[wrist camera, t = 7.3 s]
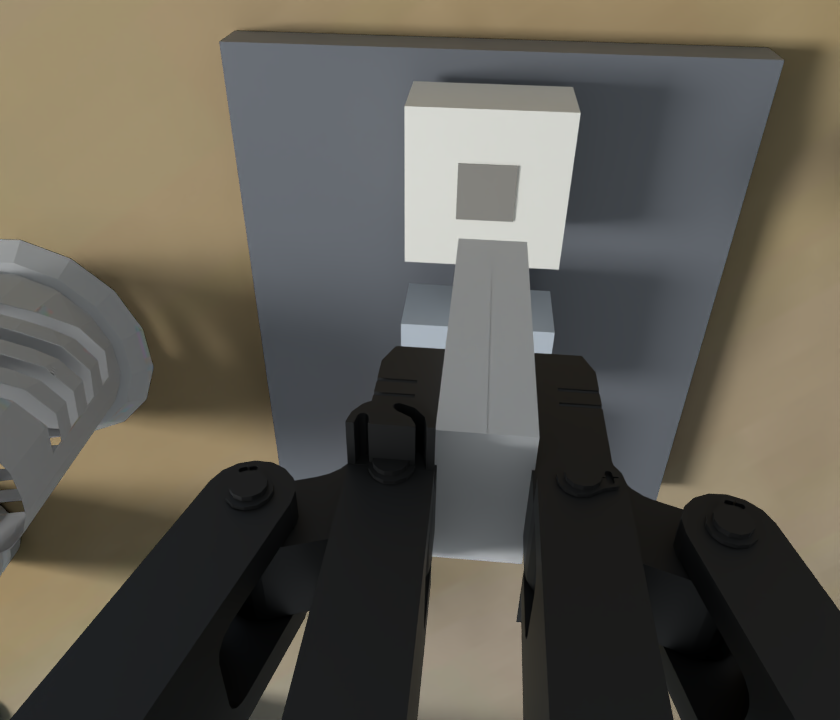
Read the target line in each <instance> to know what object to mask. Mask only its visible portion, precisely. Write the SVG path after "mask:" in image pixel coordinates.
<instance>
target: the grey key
mask: <svg viewBox="0 0 840 720" xmlns="http://www.w3.org/2000/svg"><path fill="white" fill-rule="evenodd" d="M452 289H453V286H446V285H428V284H410V283H409V287H408V292H407V297H406V301H405V306H404V311H403V316H402V321H401V346H406V347H422V348H437V349H445V347H446V338H447V330H448V322H449V314H450V306H451V297H452ZM530 294H531V310H532V326H533V342H534V353H544V354H552V348H553V342H554V335H555V330H554V321H553V313H552V304H551V295H550V291H538V290H530Z"/></svg>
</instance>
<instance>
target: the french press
mask: <svg viewBox="0 0 840 720" xmlns="http://www.w3.org/2000/svg"><path fill="white" fill-rule="evenodd" d="M152 372H153V364H152V360H151V357H150V353H149V349H148V346H147V342H146V339H145V335H144V332H143V329H142V328H141V326H140V325H139V323H138V322H137V321H136V319H135V318H134V317H133V315H132V314H131V313H130V311H129V310H128V309H127V307H126V306H125V305H124V303H123V302H122V301H121V299H120V298H119V297H118V295H117V294H116V293H115V291H114V290H112V289H111V288H110V287H108V286H107V285H106V284H104V283H103V282H102V281H100V280H99V279H98V278H96V277H95V276H93V275H92V274H91V273H89V272H88V271H87V270H85V269H84V268H83V267H81V266H80V265H79V264H77V263H76V262H75V261H73V260H72V259H70V258H67V257H65V256H62V255H59V254H57V253H54V252H51V251H49V250H46V249H43V248H40V247H38V246H35V245H32V244H30V243H27V242H24V241H22V240H3V239H0V464H1V465H2V466H3V467H4V468H5V469H0V481H4V480H13V481H14V483H15V485H16V487H17V489H10V490H0V503H1V502H11V501H21V500H22V502H23V506H24V510H25V512H16V513H5V514H0V553H2V552H4V551H6V550H9V549H11V548H12V547H13V546H14V544H15V543H16V542H17V541H18V540H19V538H20V537H21V536H22V535H23V533H24V532H25V530H26V529H27V527H28V526H29V525H30V523H31V522H32V520H33V519H34V517H35V516H36V514H37V513H38V512H39V510H40V509H41V507H42V506H43V504H44V503H45V501H46V500H47V499H48V497H49V496H50V494H51V493H52V491H53V490H54V488H55V487H56V486H57V484H58V483H59V481H60V480H61V478H62V477H63V475H64V474H65V473H66V471H67V470H68V468H69V467H70V465H71V464H72V462H73V461H74V460H75V458H76V457H77V455H78V454H79V452H80V451H81V449H82V448H83V447H84V445H85V444H86V442H87V441H88V439H89V438H90V436H91V435H92V434H93V432H94V431H95V430H98V429H102V428H105V427H108V426H111V425H114V424H118V423H121V422H124V421H125V420H126V419H127V418H128V417H129V416H130V415H131V414H132V413H133V412H134V411H135V410H136V409H137V408H138V407H139V406H140V405H141V404H142V403H143V402H144V401H145V400H146V399H147V395H148V390H149V386H150V381H151V377H152ZM52 437H61V442H60V443H59V445H53V446H51V442H50V438H52Z"/></svg>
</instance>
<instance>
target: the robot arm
mask: <svg viewBox="0 0 840 720" xmlns="http://www.w3.org/2000/svg"><path fill="white" fill-rule="evenodd" d="M345 427H346V445H347V462H348V464H346V465H345V466H343V467H342V468H340V469H338V470H336V471H334V472H332V473H329V474H326V475H322V476H318V477H312V478H306V479H300V480H294V478H293V477H292V476H291V475H290V473H289V472H288V471H287V470H286V469H285V468H283V467H281V466H279V465H276V464H274V463H272V462H263V461H250V462H244V463H238V464H236V465H234V466H231V467H229V468H227V469H224V470H222V471H221V472H220V473H219V474H218V475H216V476H215V477H214V478H213V479H212V480H210V482H209V483H208V484H207V485H206V486H205V488H204V489H203V490H202V491H201V492H200V493H199V495H198V496H197V497H196V498H195V499H194V501H193V502H192V503H191V504H190V505H189V507H188V508H187V509H186V510H185V511H184V513H183V514H182V515H181V516H180V517H179V519H178V520H177V521H176V522H175V523H174V524H173V526H172V527H171V528H170V529H169V530H168V532H167V533H166V534H165V535H164V536H163V538H162V539H161V540H160V541H159V542H158V544H157V545H156V546H155V547H154V548H153V550H152V551H151V552H150V553H149V554H148V556H147V557H146V558H145V559H144V560H143V561H142V563H141V564H140V565H139V566H138V567H137V569H136V570H135V571H134V572H133V573H132V575H131V576H130V577H129V578H128V579H127V581H126V582H125V583H124V584H123V585H122V587H121V588H120V589H119V590H118V591H117V592H116V594H115V595H114V596H113V597H112V598H111V600H110V601H109V602H108V603H107V604H106V606H105V607H104V608H103V609H102V610H101V612H100V613H99V614H98V615H97V616H96V618H95V619H94V620H93V621H92V622H91V624H90V625H89V626H88V627H87V628H86V629H85V631H84V632H83V633H82V634H81V635H80V637H79V638H78V639H77V640H76V641H75V643H74V644H73V645H72V646H71V647H70V649H69V650H68V651H67V652H66V653H65V655H64V656H63V657H62V658H61V659H60V660H59V662H58V663H57V664H56V665H55V666H54V668H53V669H52V670H51V671H50V672H49V674H48V675H47V676H46V677H45V678H44V680H43V681H42V682H41V683H40V684H39V686H38V687H37V688H36V689H35V690H34V691H33V693H32V694H31V695H30V696H29V697H28V699H27V700H26V701H25V702H24V703H23V705H22V706H21V707H20V708H19V709H18V711H17V712H16V713H15V714H14V715H13V717H12V718H11V719H10V720H248V719H249V717H250V716H251V714H252V712H253V710H254V708H255V707H256V705H257V703H258V701H259V699H260V698H261V696H262V694H263V692H264V690H265V689H266V687H267V685H268V683H269V681H270V680H271V678H272V676H273V674H274V672H275V671H276V669H277V667H278V665H279V664H280V662H281V660H282V658H283V656H284V655H285V653H286V651H287V649H288V647H289V646H290V644H291V642H292V640H293V638H294V637H295V635H296V633H297V631H298V629H299V628H300V626H301V624H302V622H303V620H304V619H305V616H306V613H307V611H310V612H309V616H308V620H307V624H306V627H305V631H304V635H303V639H302V643H301V647H300V651H299V655H298V659H297V662H296V666H295V670H294V674H293V678H292V682H291V686H290V690H289V693H288V697H287V701H286V705H285V709H284V713H283V717H282V720H417V717H418V706H419V696H420V686H421V676H422V666H423V656H424V646H425V635H426V625H427V615H428V605H429V595H430V585H431V561H432V556H433V557H445V558H457V559H469V560H480V561H492V562H504V563H516V564H522V559H523V554H524V573H523V580H522V587H521V594H520V601H519V608H518V615H517V621H516V622H521V627H522V677H523V720H673V715H672V710H671V705H670V699H669V694H670V696H671V698H672V701H673V703H674V705H675V707H676V709H677V712H678V714H679V716H680V718H681V720H840V611H839V609H838V608H837V607H836V605H835V604H834V602H833V601H832V600H831V598H830V597H829V596H828V594H827V593H826V591H825V590H824V589H823V587H822V586H821V585H820V583H819V582H818V580H817V579H816V578H815V576H814V575H813V574H812V572H811V571H810V570H809V568H808V567H807V565H806V564H805V563H804V561H803V560H802V559H801V557H800V556H799V554H798V553H797V552H796V550H795V549H794V548H793V546H792V545H791V543H790V542H789V541H788V539H787V538H786V537H785V535H784V534H783V533H782V531H781V530H780V528H779V527H778V526H777V524H776V523H775V522H774V521H773V520H772V519H771V518H770V517H769V516H768V515H767V514H766V513H765V512H764V511H763V510H761V509H760V508H758V507H756V506H755V505H753V504H751V503H749V502H748V501H746V500H743V499H740V498H736V497H733V496H730V495H725V494H706V495H702V496H699V497H695V498H693V499H692V500H691V501H690V502H689V503H688V504H687V505H685V506H684V509H680V508H677V507H673V506H670V505H667V504H664V503H661V502H658V501H655V500H653V499H650V498H648V497H645V496H643V495H641V494H640V493H638V492H636V491H635V490H633V489H631V488H630V487H629V486H628V485H627V483H626V481H625V479H624V477H623V475H622V473H621V472H620V471H619V470H618V469H617V468H616V467H615V466H614V465H613V463H612V458H611V452H610V447H609V441H608V436H607V431H606V425H605V420H604V414H603V409H602V403H601V398H600V394H599V387H598V381H597V376H596V372H595V371H594V370H593V369H592V367H591V366H590V365H589V364H588V363H587V361H586V360H585V359H584V358H583V357H582V356H575V355H560V354H544V353H534V342H533V326H532V310H531V294H530V278H529V262H528V247H527V242H518V241H500V240H481V239H462V238H459V240H458V248H457V256H456V264H455V273H454V281H453V289H452V297H451V306H450V314H449V322H448V330H447V338H446V347H445V349H437V348H422V347H406V346H395V347H394V348H393V349H392V350H391V351H390V352H389V353H388V354H387V355H386V356H385V357H384V358H383V359H382V361H381V365H380V369H379V373H378V377H377V381H376V385H375V389H374V395H373V397H372V401H369V402H365V403H363V404H361V405H360V406H359V407H357V408H356V409H354V410H353V411H351V413H350V415H349V416H348V418H347V420H346V421H345ZM668 692H669V694H668Z"/></svg>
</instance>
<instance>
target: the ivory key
mask: <svg viewBox="0 0 840 720" xmlns="http://www.w3.org/2000/svg"><path fill="white" fill-rule="evenodd" d="M580 114H581V112H580V109H579V106H578V102H577V99H576V96H575V92H574V89H573V87H561V86H534V85H506V84H478V83H450V82H422V81H413V84H412V87H411V89H410V92H409V95H408V98H407V101H406V103H405V106H404V129H405V262H423V263H442V264H456V256H457V248H458V240H459V238H462V239H481V240H500V241H518V242H527V247H528V262H529V268H537V269H556V270H559V264H560V257H561V250H562V243H563V236H564V229H565V221H566V214H567V207H568V200H569V193H570V186H571V179H572V171H573V164H574V157H575V150H576V143H577V136H578V129H579V122H580Z"/></svg>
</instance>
